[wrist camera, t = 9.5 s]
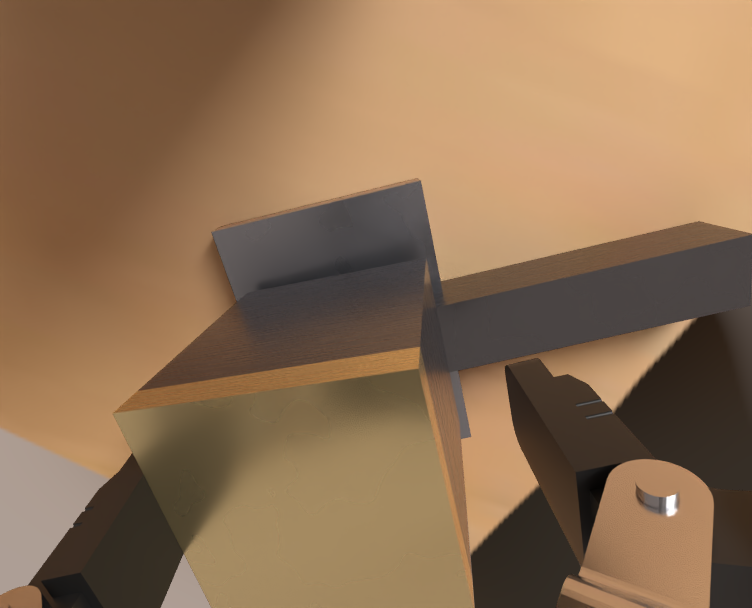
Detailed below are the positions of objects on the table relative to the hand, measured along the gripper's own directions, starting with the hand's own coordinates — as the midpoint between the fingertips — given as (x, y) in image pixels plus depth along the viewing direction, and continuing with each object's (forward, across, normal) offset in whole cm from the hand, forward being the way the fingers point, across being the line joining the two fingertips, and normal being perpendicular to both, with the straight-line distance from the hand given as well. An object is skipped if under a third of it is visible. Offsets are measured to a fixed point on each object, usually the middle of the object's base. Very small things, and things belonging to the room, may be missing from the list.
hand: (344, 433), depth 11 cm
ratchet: (+7, -5, 0) cm, 8 cm away
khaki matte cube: (+5, 0, 0) cm, 5 cm away
